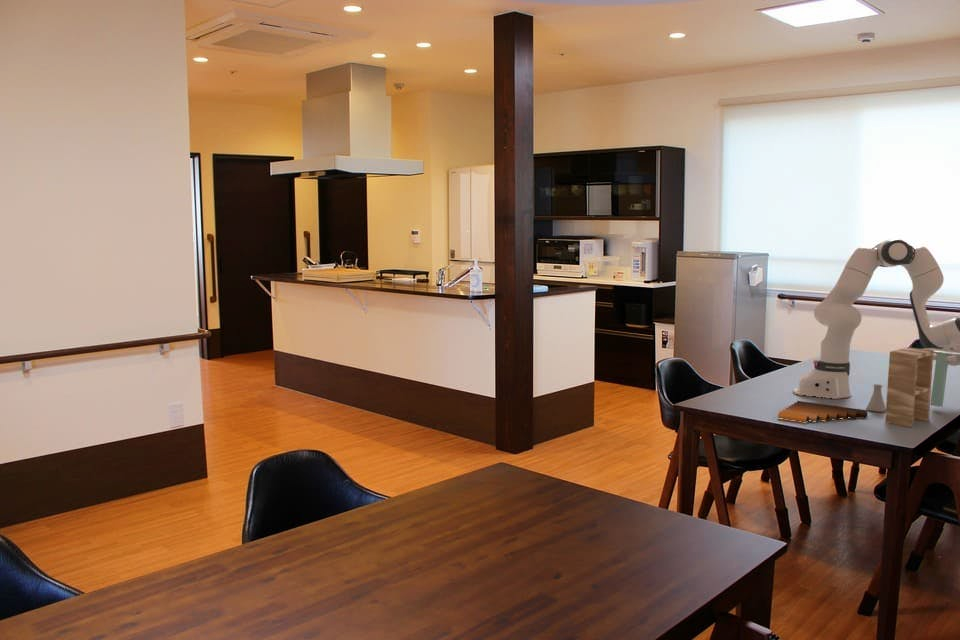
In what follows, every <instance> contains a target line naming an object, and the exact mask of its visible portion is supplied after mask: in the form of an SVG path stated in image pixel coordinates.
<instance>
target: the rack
mask: <svg viewBox="0 0 960 640" xmlns="http://www.w3.org/2000/svg"><path fill="white" fill-rule="evenodd" d="M933 353H934V350H926V349H924V348H915V347H904V348H900V349H895V350H891V351H889V358H888V360H889V363H888V376H887V387H886V388H887V389H886V403H885V404H886V405H885V407H886V411H885V419H884V420H885V421H884V422H885V423H886V422H889V423H888V424H891V423H894V424H893V425H897V424H898V425H899V426H902V425H903V426H902V427H907V428H908V427H909V428H913V427H914V422H915V421H914V420H918V421H925V422H929V419H930V406H931V405H930V404H931V396H932V382H933V381H932V380H933V367H934V366H933V364H934V360H933ZM898 425H897V426H898Z"/></svg>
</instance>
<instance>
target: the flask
mask: <svg viewBox="0 0 960 640" xmlns="http://www.w3.org/2000/svg"><path fill="white" fill-rule="evenodd" d="M882 387H883V384H878V383H874V384H873V392H872V395H871V398H870V400H869V402H868V403H867V406H866V408H865V410H867V411H870V412H876V413H884V412H885V413H886V405H885V404H886V403H885V402H884V398H883V395H882V393H883V392H882Z"/></svg>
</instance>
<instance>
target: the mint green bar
mask: <svg viewBox="0 0 960 640" xmlns="http://www.w3.org/2000/svg"><path fill="white" fill-rule="evenodd" d="M946 356H949V355H945V354H937V357H936V360H935V366H934V374H933V379H932V380H933V381H932V382H933V383H932V387H931V395H930V406H934V407H939V408H941V407H943V404H944V397H945V390H946V383H947V374H948V366H949V365H948V361H945V357H946Z"/></svg>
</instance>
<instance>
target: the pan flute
mask: <svg viewBox="0 0 960 640" xmlns="http://www.w3.org/2000/svg"><path fill="white" fill-rule="evenodd" d="M868 414H869V413H868V410H866V409H859V408H852V407H845V406H838V405H831V404H824V403H816V402H811V401H810V402H809V401H803V400H802V401H801V400H797V401H796V402H795V401H794V403H791V405H788V407H785V408H784V409H782V410H779V412H778V414H777V419H778V418H783V419H788V420H795V421H801V422H807V421H809V420H811V421H818V420H825V421H827V420H828V419H834V420H837V419H838V418H843V419H847V418H848V417H850V418H857V417H858V418H859V417H864V418H863V419H866V417H867V418H868ZM850 418H848V419H850ZM858 418H857V419H858ZM848 419H847V420H848ZM838 420H839V419H838ZM838 420H837V421H838ZM828 421H829V420H828ZM828 421H827V422H828ZM818 422H819V421H818Z"/></svg>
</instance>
